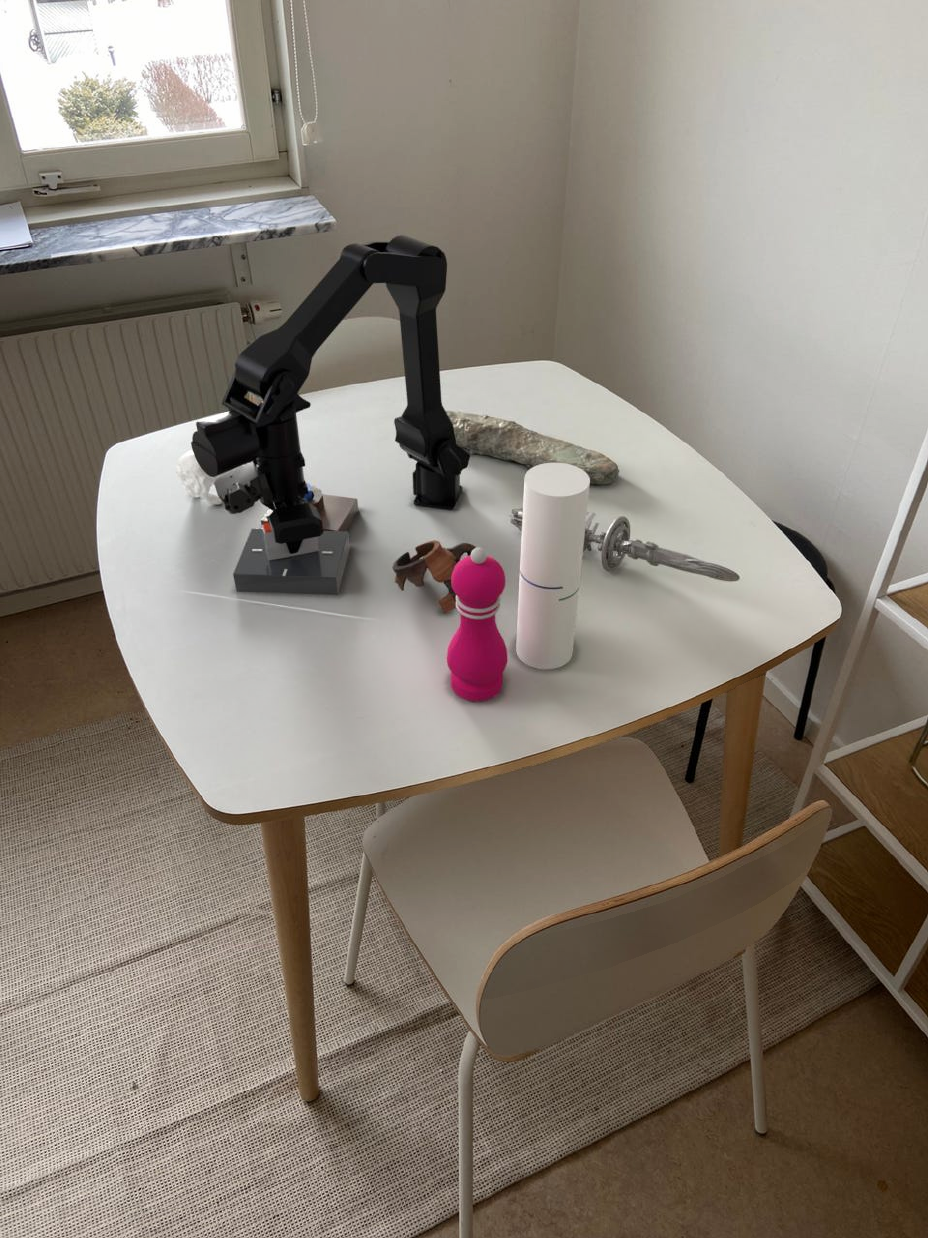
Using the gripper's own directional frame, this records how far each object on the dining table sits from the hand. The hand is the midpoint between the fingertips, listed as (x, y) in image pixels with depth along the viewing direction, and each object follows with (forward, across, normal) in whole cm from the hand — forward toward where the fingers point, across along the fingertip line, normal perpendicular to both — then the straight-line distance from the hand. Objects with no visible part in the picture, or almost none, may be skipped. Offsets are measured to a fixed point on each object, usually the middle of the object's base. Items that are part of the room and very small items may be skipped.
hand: (291, 547), depth 128 cm
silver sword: (+4, +15, +42) cm, 45 cm away
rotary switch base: (+4, 0, 0) cm, 4 cm away
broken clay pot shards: (+4, +12, +18) cm, 21 cm away
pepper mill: (+4, +31, +16) cm, 35 cm away
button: (0, -12, +4) cm, 13 cm away
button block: (+4, -11, +5) cm, 13 cm away
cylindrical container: (+4, +28, +26) cm, 38 cm away
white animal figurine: (+4, -25, -6) cm, 26 cm away
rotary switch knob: (+1, 0, 0) cm, 1 cm away
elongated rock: (+4, -19, +42) cm, 46 cm away
